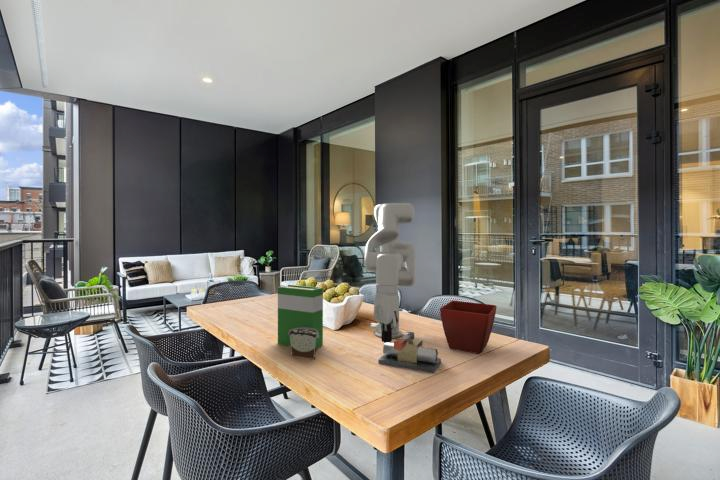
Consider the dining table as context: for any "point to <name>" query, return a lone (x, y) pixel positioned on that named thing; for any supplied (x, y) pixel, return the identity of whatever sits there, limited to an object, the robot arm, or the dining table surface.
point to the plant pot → (467, 325)
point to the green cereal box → (299, 311)
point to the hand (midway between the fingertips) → (386, 341)
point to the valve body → (411, 356)
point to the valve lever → (403, 341)
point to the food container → (303, 342)
